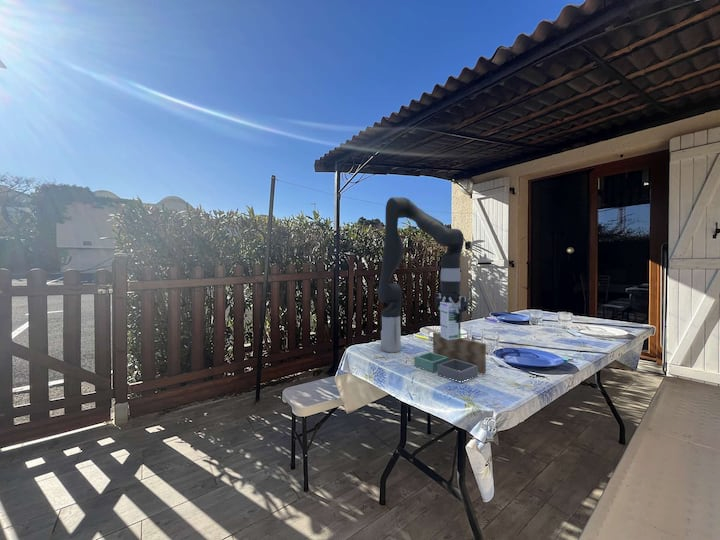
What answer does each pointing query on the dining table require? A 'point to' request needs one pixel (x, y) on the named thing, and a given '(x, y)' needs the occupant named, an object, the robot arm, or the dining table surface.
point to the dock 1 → (429, 361)
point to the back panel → (461, 350)
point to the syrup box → (449, 321)
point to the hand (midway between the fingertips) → (450, 320)
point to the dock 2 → (450, 372)
